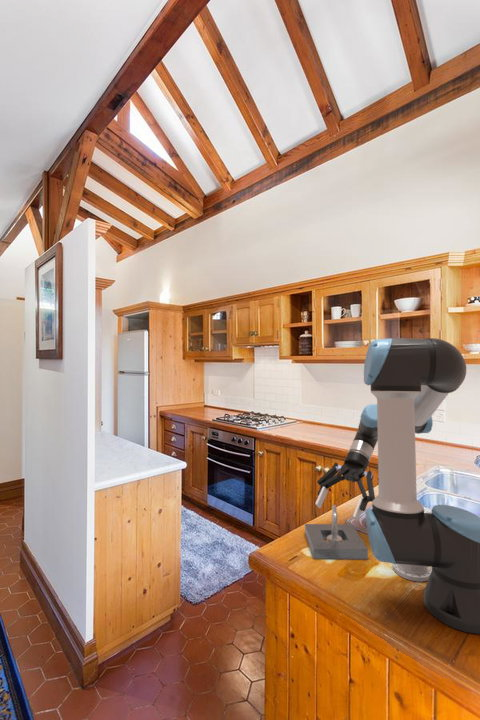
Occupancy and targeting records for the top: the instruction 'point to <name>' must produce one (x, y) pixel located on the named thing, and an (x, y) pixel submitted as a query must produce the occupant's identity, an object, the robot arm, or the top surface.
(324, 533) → the socket plate
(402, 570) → the mechanical component
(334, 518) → the screw
